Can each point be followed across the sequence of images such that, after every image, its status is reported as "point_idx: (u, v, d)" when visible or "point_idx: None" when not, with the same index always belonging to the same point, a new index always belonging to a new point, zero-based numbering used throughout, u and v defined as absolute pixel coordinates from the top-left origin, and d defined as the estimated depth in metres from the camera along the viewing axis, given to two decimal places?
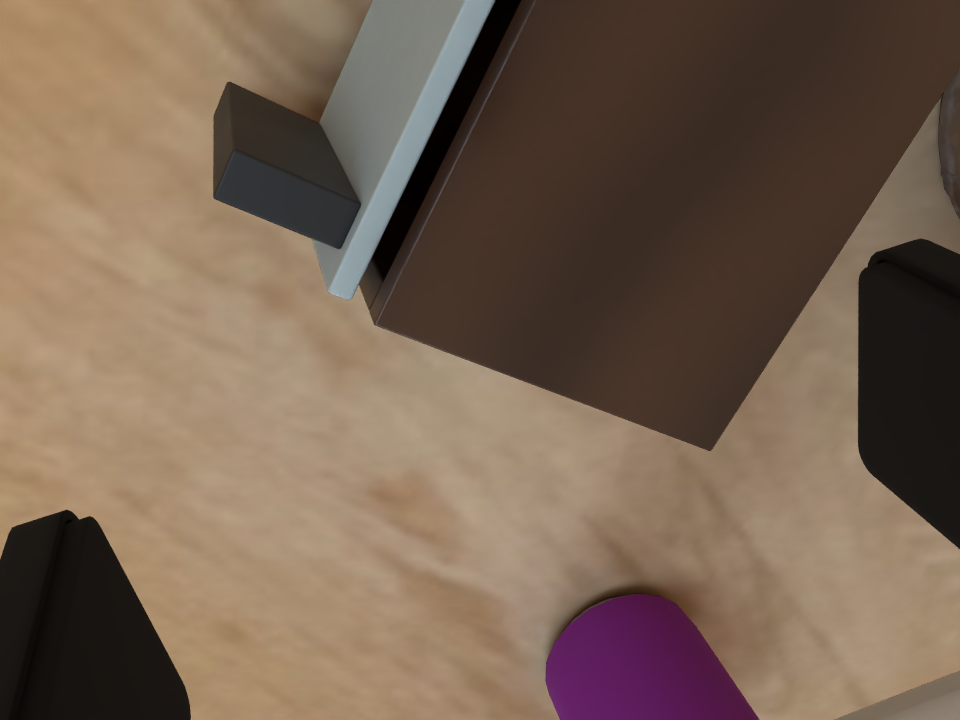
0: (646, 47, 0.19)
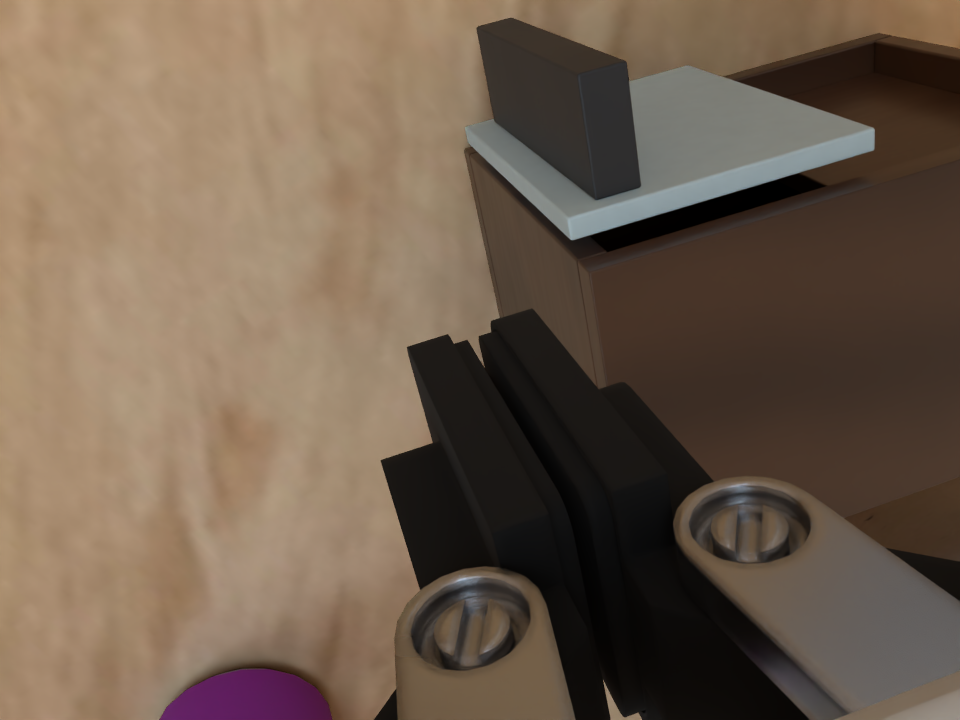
0: (892, 279, 0.23)
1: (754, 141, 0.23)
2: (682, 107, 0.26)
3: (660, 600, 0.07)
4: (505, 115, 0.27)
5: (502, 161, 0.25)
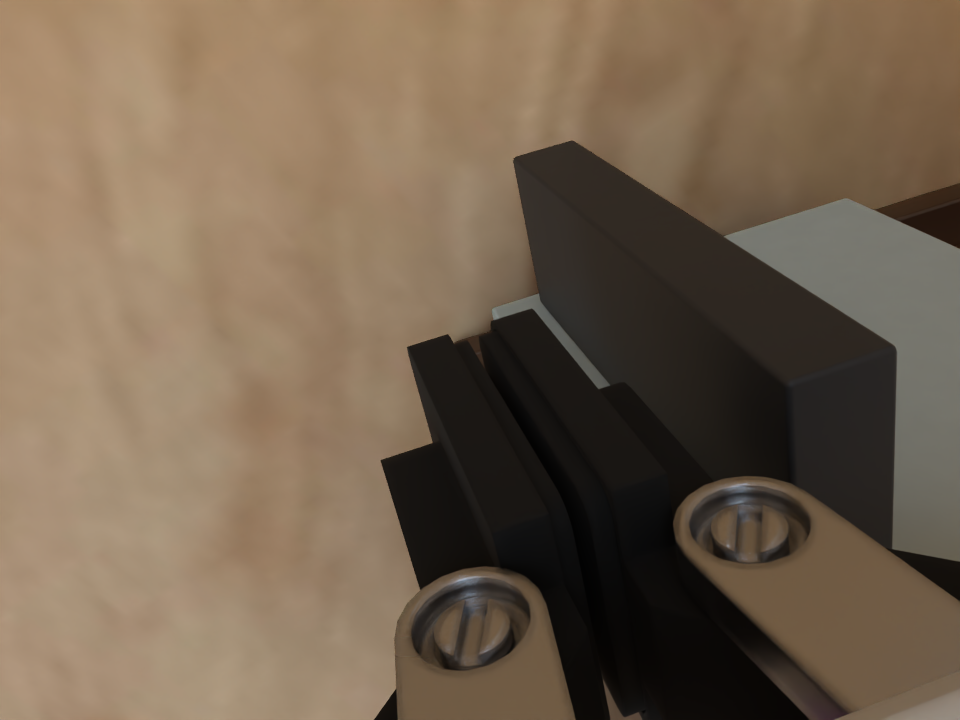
0: None
1: None
2: (880, 307, 0.15)
3: (660, 599, 0.07)
4: (564, 311, 0.16)
5: None
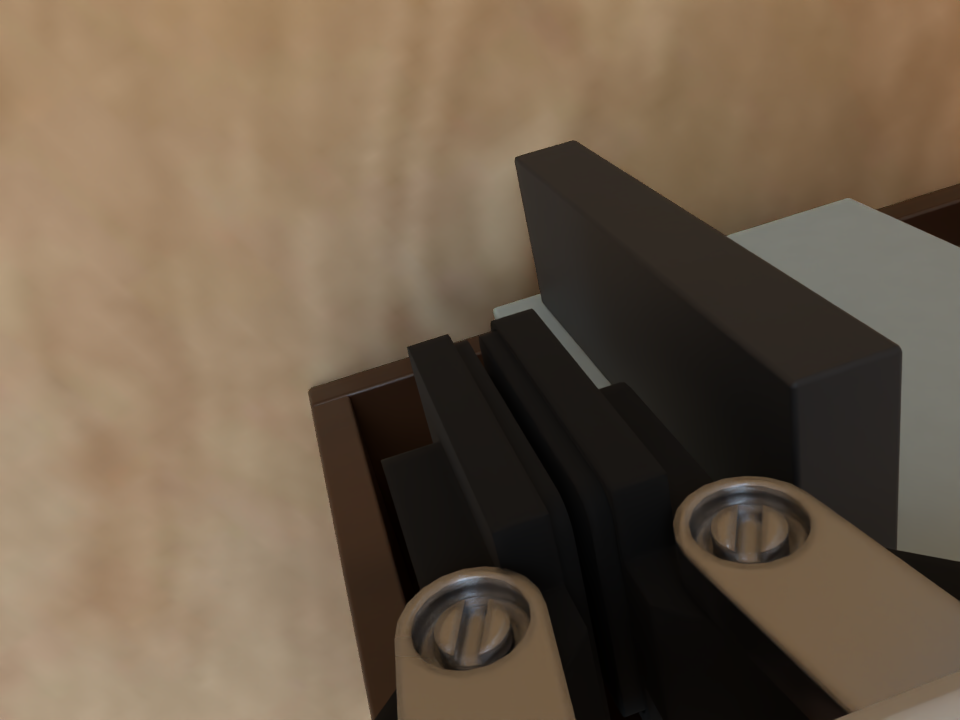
0: None
1: None
2: (883, 307, 0.15)
3: (660, 600, 0.07)
4: (566, 311, 0.16)
5: None
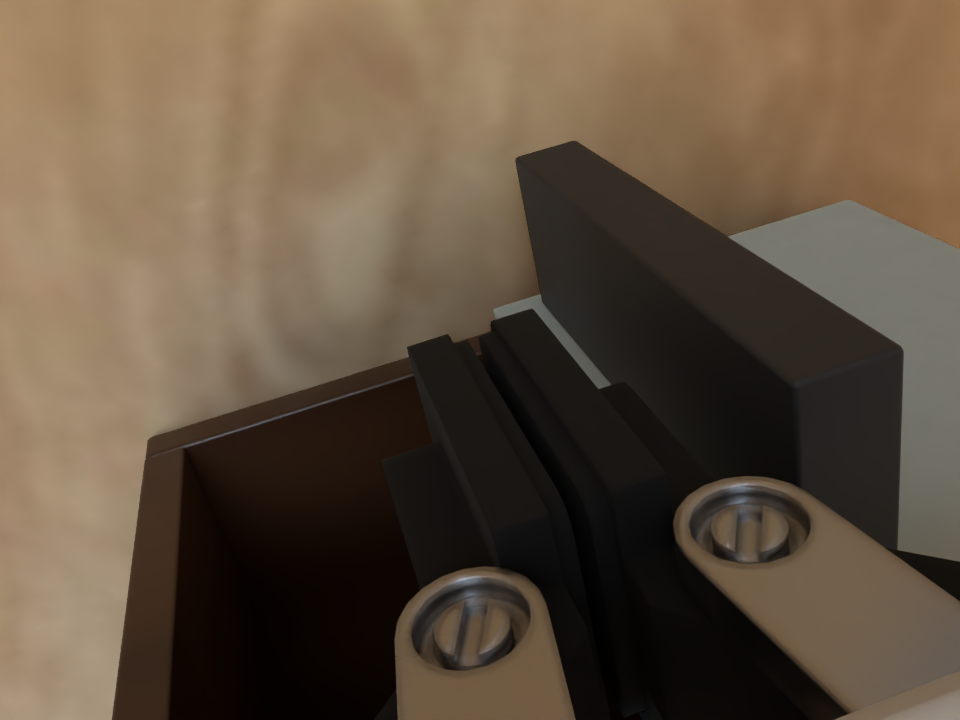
0: None
1: None
2: (883, 309, 0.15)
3: (660, 600, 0.07)
4: (566, 311, 0.16)
5: None
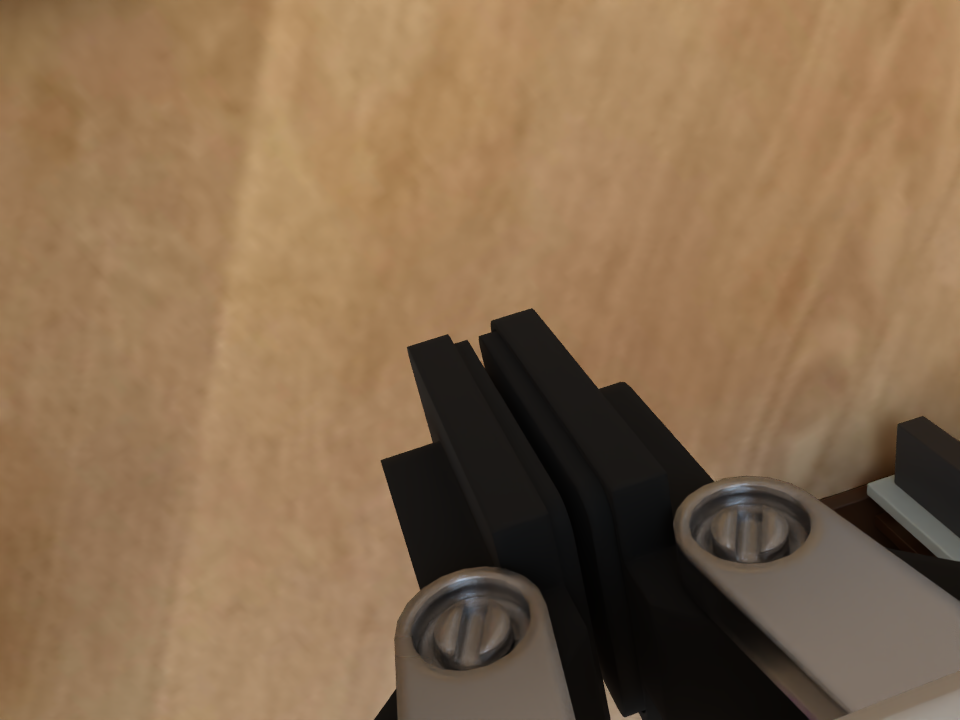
0: None
1: None
2: None
3: (660, 599, 0.07)
4: (922, 495, 0.35)
5: (941, 550, 0.34)
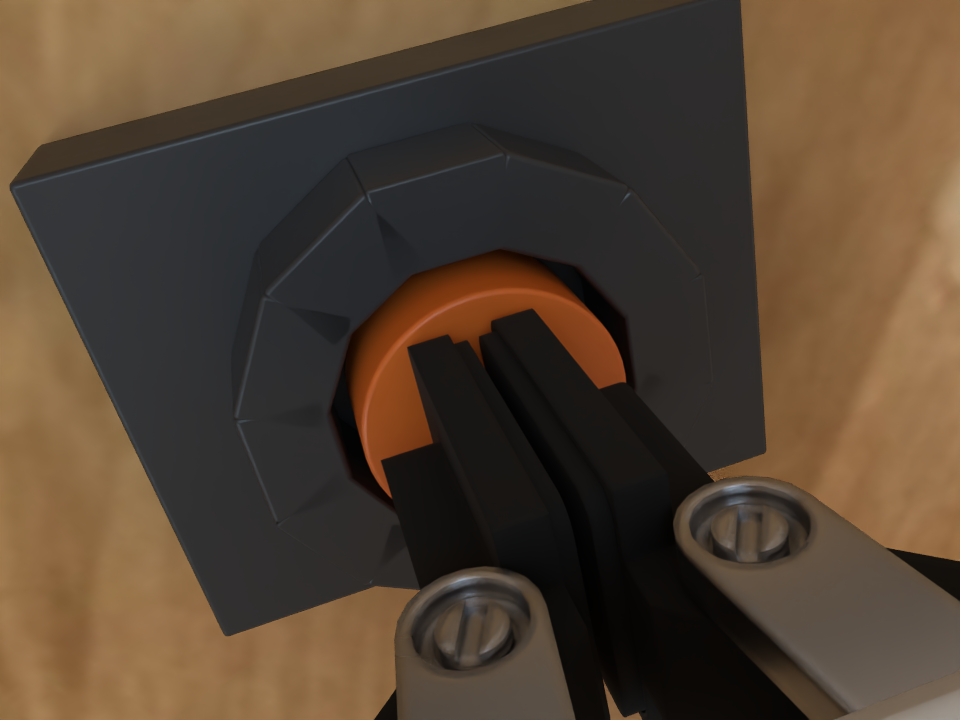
0: None
1: None
2: None
3: (660, 600, 0.07)
4: None
5: None
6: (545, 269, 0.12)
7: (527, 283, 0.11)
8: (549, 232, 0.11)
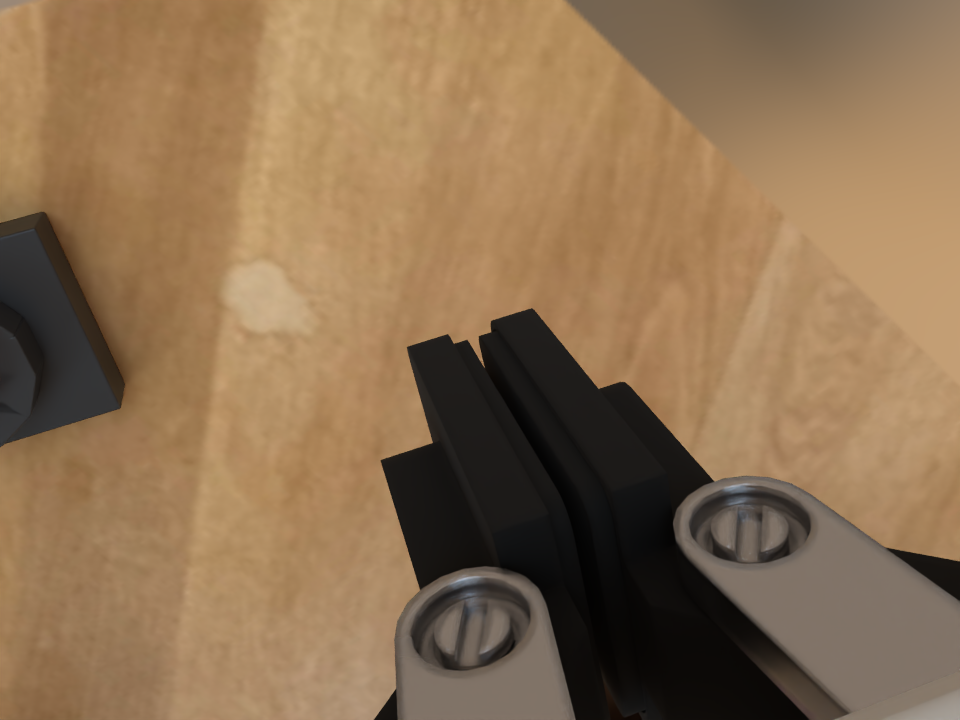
0: None
1: None
2: None
3: (660, 599, 0.07)
4: None
5: None
6: None
7: None
8: None
